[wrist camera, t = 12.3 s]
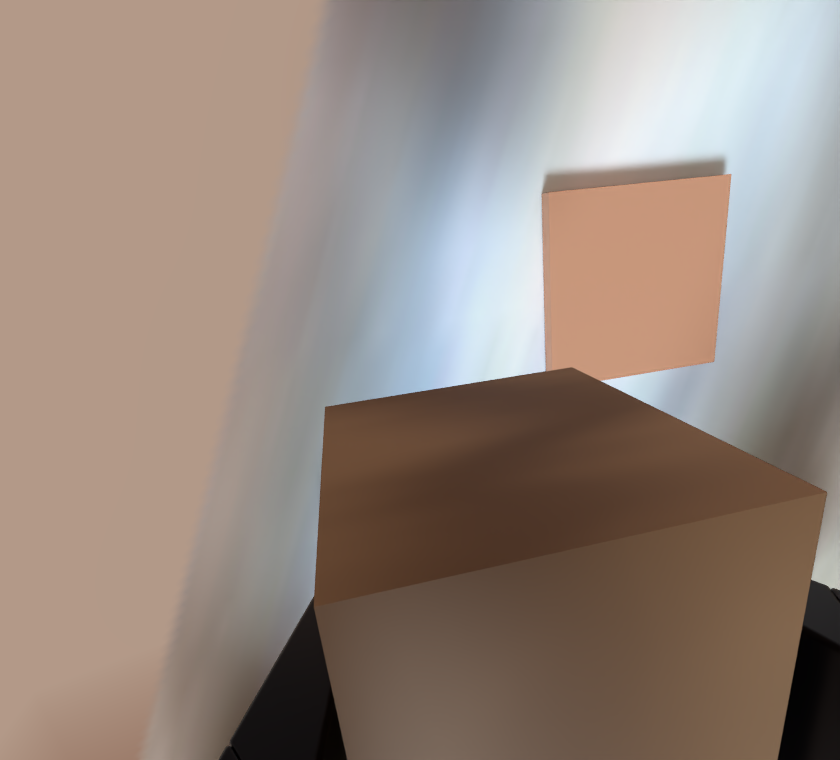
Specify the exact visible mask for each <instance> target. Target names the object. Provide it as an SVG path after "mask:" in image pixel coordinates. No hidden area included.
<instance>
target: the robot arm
mask: <svg viewBox="0 0 840 760" xmlns="http://www.w3.org/2000/svg"><path fill="white" fill-rule="evenodd" d="M219 760H347V756H346V751H345V747H344V742H343V738H342V733H341V729H340V724H339V720H338V715H337V711H336V706H335V701H334V697H333V692H332V688H331V683H330V679H329V674H328V670H327V665H326V661H325V656H324V651H323V647H322V642H321V638H320V633H319V629H318V624H317V620H316V615H315V611H314V597H313V599H312V600H311V602H310V604H309V605H308V607H307V609H306V611H305V612H304V614H303V616H302V618H301V619H300V621H299V623H298V624H297V626H296V628H295V630H294V631H293V633H292V635H291V636H290V638H289V640H288V642H287V643H286V645H285V647H284V649H283V650H282V652H281V654H280V655H279V657H278V659H277V661H276V662H275V664H274V666H273V668H272V669H271V671H270V673H269V674H268V676H267V678H266V680H265V681H264V683H263V685H262V686H261V688H260V690H259V692H258V693H257V695H256V697H255V699H254V700H253V702H252V704H251V705H250V707H249V709H248V711H247V712H246V714H245V716H244V717H243V719H242V721H241V723H240V724H239V726H238V728H237V730H236V731H235V733H234V735H233V736H232V738H231V740H230V746H227V747H226V748H225V750H224V751H223V753H222V755H221V757H220V758H219ZM777 760H840V590H838V589H835V588H832V589H831V590H830V588H829V587H828V586H826V585H824V584H821V583H818V582H816V581H813V580H811V582H810V587H809V593H808V598H807V603H806V609H805V614H804V620H803V625H802V630H801V636H800V641H799V646H798V652H797V657H796V663H795V668H794V673H793V679H792V684H791V689H790V695H789V700H788V706H787V711H786V716H785V722H784V727H783V733H782V738H781V743H780V749H779V754H778V759H777Z"/></svg>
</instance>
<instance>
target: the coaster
mask: <svg viewBox="0 0 840 760" xmlns="http://www.w3.org/2000/svg"><path fill="white" fill-rule="evenodd" d="M730 183H731V174H728V175H717V176H707V177H697V178H687V179H677V180H667V181H657V182H647V183H637V184H627V185H617V186H607V187H597V188H586V189H576V190H566V191H556V192H548V193H544V194H542V224H543V266H544V308H545V351H546V371H551V370H558V369H564V368H570V367H573V368H575V369H577V370H579V371H581V372H583V373H585V374H587V375H589V376H591V377H593V378H595V379H597V380H599V381H601V380H607V379H613V378H619V377H625V376H631V375H637V374H643V373H649V372H655V371H661V370H667V369H673V368H679V367H685V366H691V365H697V364H703V363H709V362H714V358H715V347H716V336H717V325H718V314H719V303H720V292H721V281H722V270H723V259H724V249H725V238H726V227H727V216H728V205H729V194H730Z"/></svg>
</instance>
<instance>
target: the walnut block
mask: <svg viewBox="0 0 840 760" xmlns="http://www.w3.org/2000/svg"><path fill="white" fill-rule="evenodd" d="M826 496H827V492H826V491H824V490H822V489H820V488H818V487H816V486H814V485H812V484H810V483H807V482H805V481H803V480H801V479H799V478H797V477H795V476H793V475H791V474H789V473H787V472H785V471H783V470H781V469H779V468H777V467H775V466H773V465H771V464H769V463H767V462H765V461H763V460H761V459H758V458H756V457H754V456H752V455H750V454H748V453H746V452H744V451H742V450H740V449H738V448H736V447H734V446H732V445H730V444H728V443H726V442H724V441H722V440H720V439H718V438H716V437H714V436H712V435H709V434H707V433H705V432H703V431H701V430H699V429H697V428H695V427H693V426H691V425H689V424H687V423H685V422H683V421H681V420H679V419H677V418H675V417H673V416H671V415H669V414H667V413H665V412H663V411H660V410H658V409H656V408H654V407H652V406H650V405H648V404H646V403H644V402H642V401H640V400H638V399H636V398H634V397H632V396H630V395H628V394H626V393H624V392H622V391H620V390H618V389H616V388H614V387H611V386H609V385H607V384H605V383H603V382H601V381H599V380H597V379H595V378H593V377H591V376H589V375H587V374H585V373H583V372H581V371H579V370H577V369H575V368H573V367H570V368H564V369H558V370H551V371H545V372H539V373H533V374H527V375H520V376H514V377H508V378H502V379H496V380H489V381H483V382H477V383H471V384H464V385H458V386H452V387H446V388H440V389H433V390H427V391H421V392H415V393H409V394H402V395H396V396H390V397H384V398H377V399H371V400H365V401H359V402H353V403H346V404H340V405H334V406H328V407H325V419H324V436H323V454H322V471H321V489H320V506H319V524H318V541H317V559H316V576H315V594H314V611H315V615H316V620H317V624H318V629H319V633H320V638H321V642H322V647H323V651H324V656H325V661H326V665H327V670H328V674H329V679H330V683H331V688H332V692H333V697H334V701H335V706H336V711H337V715H338V720H339V724H340V729H341V733H342V738H343V742H344V747H345V751H346V756H347V760H777V759H778V754H779V749H780V743H781V738H782V733H783V727H784V722H785V716H786V711H787V706H788V700H789V695H790V689H791V684H792V679H793V673H794V668H795V663H796V657H797V652H798V646H799V641H800V636H801V630H802V625H803V620H804V614H805V609H806V603H807V598H808V593H809V587H810V582H811V577H812V571H813V566H814V560H815V555H816V550H817V544H818V539H819V534H820V528H821V523H822V517H823V512H824V507H825V501H826Z"/></svg>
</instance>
